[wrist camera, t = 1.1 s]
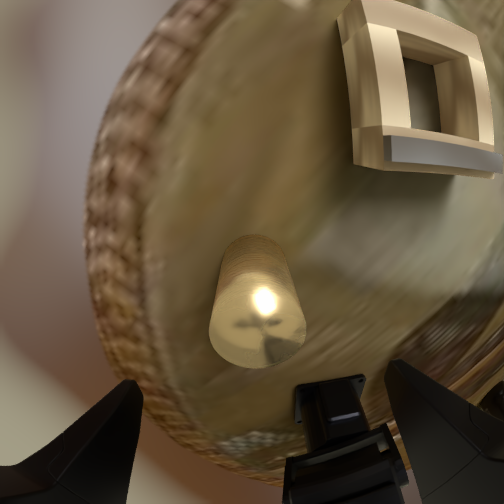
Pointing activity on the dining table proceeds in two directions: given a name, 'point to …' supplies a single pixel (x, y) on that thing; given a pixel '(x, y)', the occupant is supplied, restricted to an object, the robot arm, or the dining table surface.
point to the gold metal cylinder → (256, 306)
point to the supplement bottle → (495, 401)
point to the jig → (396, 95)
